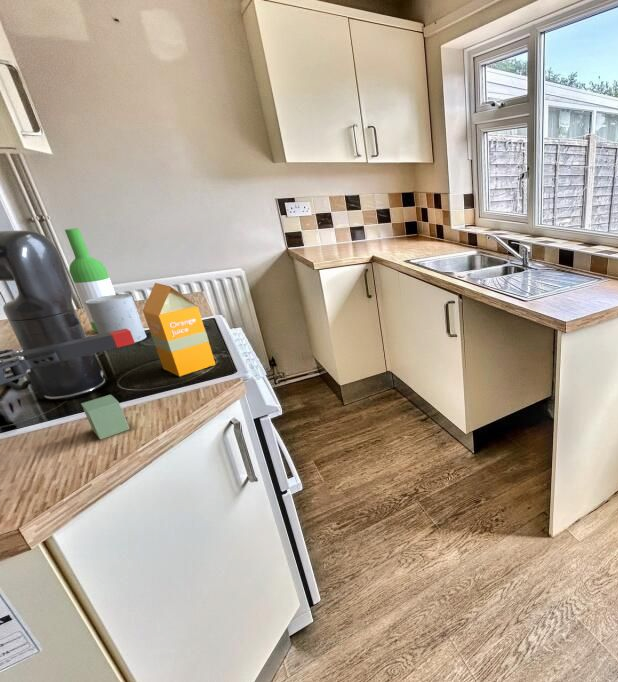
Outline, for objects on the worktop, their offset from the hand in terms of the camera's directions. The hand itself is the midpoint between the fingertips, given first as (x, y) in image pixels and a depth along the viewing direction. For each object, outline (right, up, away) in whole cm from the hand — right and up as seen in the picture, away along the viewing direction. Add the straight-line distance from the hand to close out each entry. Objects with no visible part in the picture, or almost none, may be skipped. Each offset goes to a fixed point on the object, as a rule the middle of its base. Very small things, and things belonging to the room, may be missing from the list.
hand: (59, 352), depth 68 cm
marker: (+1, +1, +2) cm, 2 cm away
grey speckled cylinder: (-37, +2, +52) cm, 63 cm away
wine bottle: (-50, +5, +61) cm, 80 cm away
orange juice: (-4, -4, +33) cm, 33 cm away
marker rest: (+2, -14, +7) cm, 16 cm away
